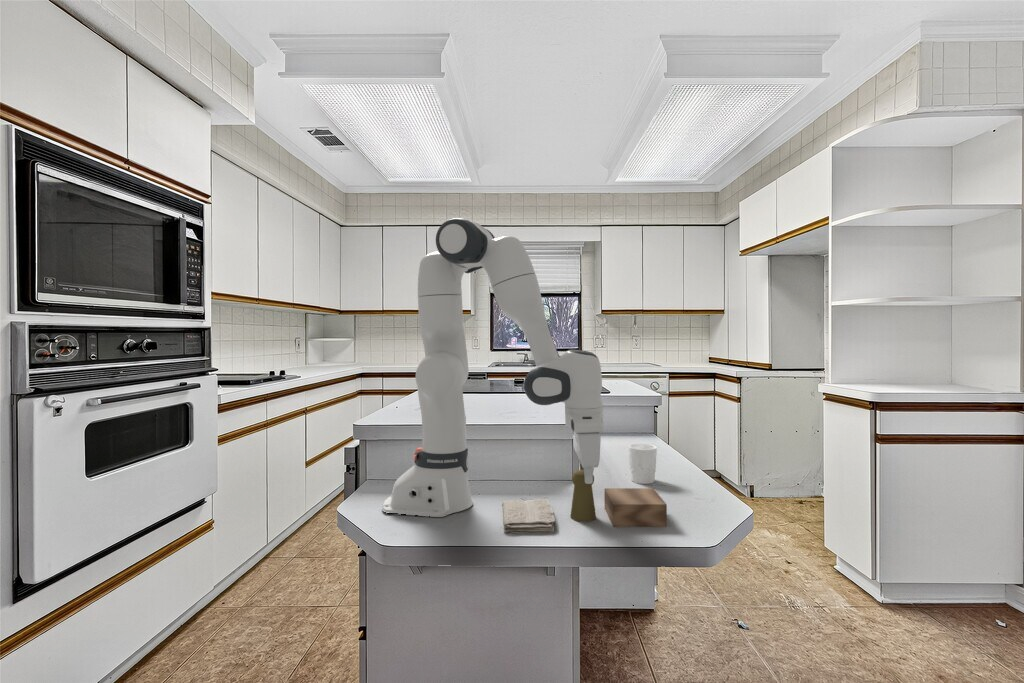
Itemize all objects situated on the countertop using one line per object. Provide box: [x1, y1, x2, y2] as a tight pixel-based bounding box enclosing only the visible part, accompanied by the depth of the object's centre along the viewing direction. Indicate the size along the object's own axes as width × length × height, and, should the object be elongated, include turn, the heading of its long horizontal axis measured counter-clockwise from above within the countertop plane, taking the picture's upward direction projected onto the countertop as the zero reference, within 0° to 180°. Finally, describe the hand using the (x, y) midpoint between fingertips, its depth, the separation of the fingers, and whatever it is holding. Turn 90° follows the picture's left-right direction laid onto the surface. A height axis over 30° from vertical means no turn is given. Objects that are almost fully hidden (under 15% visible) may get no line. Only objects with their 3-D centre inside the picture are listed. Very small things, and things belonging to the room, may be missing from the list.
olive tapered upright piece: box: [569, 469, 597, 523], centre depth 126 cm, size 6×6×11 cm
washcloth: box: [501, 498, 556, 534], centre depth 125 cm, size 12×18×3 cm, turn 3°
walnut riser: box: [604, 487, 668, 528], centre depth 125 cm, size 12×12×5 cm
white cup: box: [628, 443, 658, 485], centre depth 155 cm, size 8×8×10 cm
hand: (585, 477), depth 125 cm, fingers open, 8 cm apart
